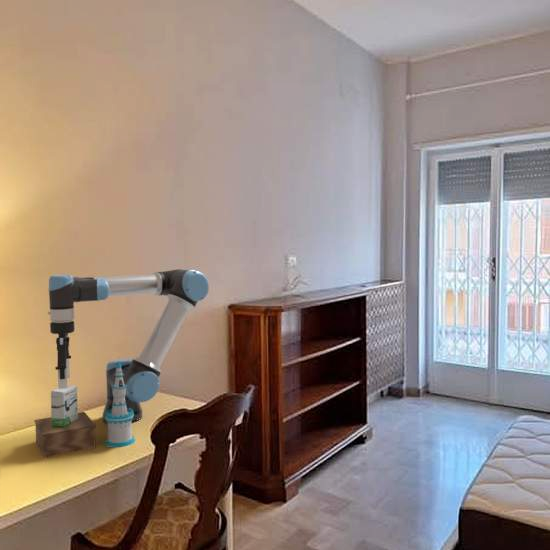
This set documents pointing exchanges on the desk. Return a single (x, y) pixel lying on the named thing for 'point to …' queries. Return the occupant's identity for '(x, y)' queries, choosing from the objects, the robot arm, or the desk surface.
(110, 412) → the model tower
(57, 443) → the walnut block
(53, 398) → the ink box
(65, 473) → the desk surface
